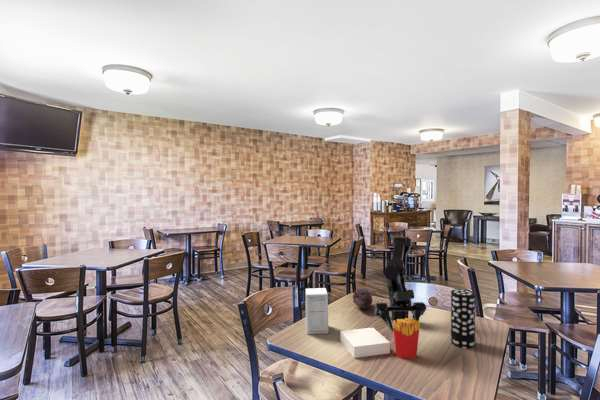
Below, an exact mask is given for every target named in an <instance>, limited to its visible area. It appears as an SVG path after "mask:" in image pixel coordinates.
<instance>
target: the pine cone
mask: <svg viewBox="0 0 600 400" xmlns="http://www.w3.org/2000/svg"><path fill="white" fill-rule="evenodd" d="M352 299H353V303H354V304H355V305H356V306H357V307H359V308H361V309H369V308H370V307H371V305H372V304H373V296H372V294H371V292H370V291H368V290H367V289H365V288H357V289H356V290H354V292H353V294H352Z"/></svg>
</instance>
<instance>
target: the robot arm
mask: <svg viewBox="0 0 600 400" xmlns="http://www.w3.org/2000/svg"><path fill="white" fill-rule="evenodd" d="M412 246H413V240H412V238H410V236H395V237H392V247H393V251H392V257H391V259H390V260H388V262H387V265H386V266H385V268H384V270H383V277H384V280H385V284H386V287H387V289H386V290H387V293H388V300H389V304H390V305H388V303H387V302H376V304H375V305H374V309H373V312H374V316H376V317H378V319H380V318H381V320H382V321H383V322H384V323H385V325H386V326H387V327H388V329H389V330H390V331H391V333H394V331H393V328H394V325H393V323H392V321H394V320H395V321H396V323H397V319H404V320H405V318H407V319H408V318H409V312H411V314H412V315H411V316H412V318H411V319H414V320H416V321H419V322H420V317H421V316H423V315H424V313H425V312H426V310H428V309H427V305H426V303H424V301H421V302H417V301H416V302H415V301H414V302H413V304H412V300H414V299H415V291H414V290H413V289H407V287H406V278H407V277H406V275H407V274H408V273H407V271H408V270H407V258H408V257H407V256H408V255H409V253H410V252H411V248H412ZM390 312H391V316H390Z"/></svg>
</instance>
